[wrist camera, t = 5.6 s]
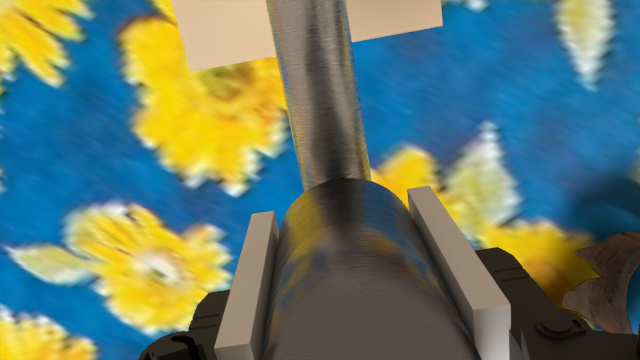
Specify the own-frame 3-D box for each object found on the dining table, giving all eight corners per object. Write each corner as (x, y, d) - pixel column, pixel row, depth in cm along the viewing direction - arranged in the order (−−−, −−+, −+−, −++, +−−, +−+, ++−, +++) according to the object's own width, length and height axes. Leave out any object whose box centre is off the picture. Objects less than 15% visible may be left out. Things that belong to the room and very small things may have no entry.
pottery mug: (481, 275, 32) (577, 290, 24) (566, 204, 35) (677, 196, 27) (566, 413, 32) (686, 471, 25) (642, 332, 35) (772, 361, 27)
